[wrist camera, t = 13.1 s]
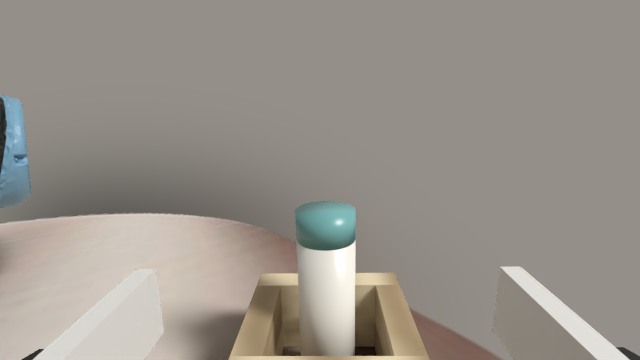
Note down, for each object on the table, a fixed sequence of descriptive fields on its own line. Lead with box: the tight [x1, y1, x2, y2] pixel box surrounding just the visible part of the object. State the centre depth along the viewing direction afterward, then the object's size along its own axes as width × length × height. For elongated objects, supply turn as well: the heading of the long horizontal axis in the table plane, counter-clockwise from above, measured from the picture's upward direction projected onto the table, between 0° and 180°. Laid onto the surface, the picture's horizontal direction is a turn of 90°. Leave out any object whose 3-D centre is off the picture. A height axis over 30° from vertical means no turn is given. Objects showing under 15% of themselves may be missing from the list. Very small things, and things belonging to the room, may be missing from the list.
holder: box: [228, 273, 429, 360], centre depth 25 cm, size 12×12×6 cm
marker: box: [295, 201, 356, 356], centre depth 24 cm, size 4×4×14 cm
